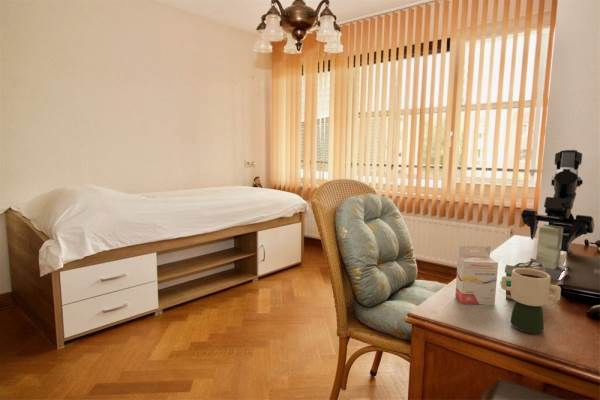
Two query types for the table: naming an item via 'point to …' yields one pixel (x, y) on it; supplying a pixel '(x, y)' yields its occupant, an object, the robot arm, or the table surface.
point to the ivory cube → (562, 257)
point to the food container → (531, 265)
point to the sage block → (549, 245)
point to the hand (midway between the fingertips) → (548, 241)
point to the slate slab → (555, 272)
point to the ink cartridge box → (476, 276)
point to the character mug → (529, 297)
